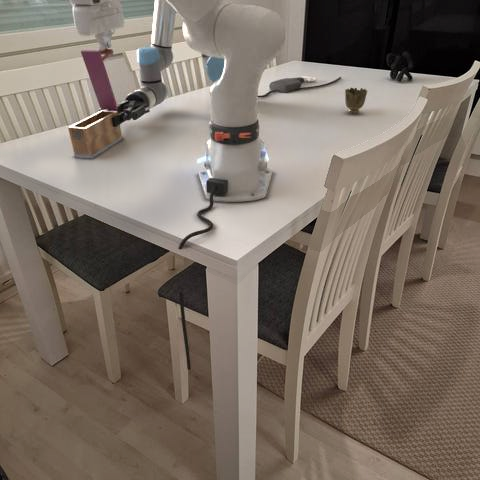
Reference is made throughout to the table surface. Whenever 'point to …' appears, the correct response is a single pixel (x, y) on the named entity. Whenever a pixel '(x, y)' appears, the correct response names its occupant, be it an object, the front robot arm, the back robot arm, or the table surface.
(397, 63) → the squiggle
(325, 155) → the table surface
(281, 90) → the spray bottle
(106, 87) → the lid
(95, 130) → the chest
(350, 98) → the cup
